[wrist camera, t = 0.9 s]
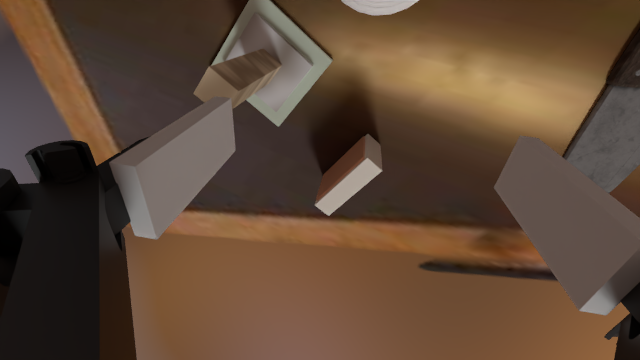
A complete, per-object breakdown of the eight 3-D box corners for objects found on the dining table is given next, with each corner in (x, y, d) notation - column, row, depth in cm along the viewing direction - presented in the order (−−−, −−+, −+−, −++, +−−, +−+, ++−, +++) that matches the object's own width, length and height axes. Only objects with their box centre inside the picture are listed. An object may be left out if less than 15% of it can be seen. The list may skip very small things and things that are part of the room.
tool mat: (211, 68, 39) (209, 69, 39) (257, -12, 34) (256, -13, 33) (279, 125, 42) (278, 126, 42) (333, 60, 37) (332, 60, 36)
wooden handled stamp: (225, 65, 38) (152, 91, 26) (257, 12, 35) (190, 12, 22) (278, 110, 40) (235, 155, 28) (313, 65, 37) (283, 93, 24)
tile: (321, 175, 45) (313, 203, 39) (366, 132, 41) (365, 156, 34) (334, 185, 46) (328, 215, 39) (380, 144, 41) (382, 170, 35)
